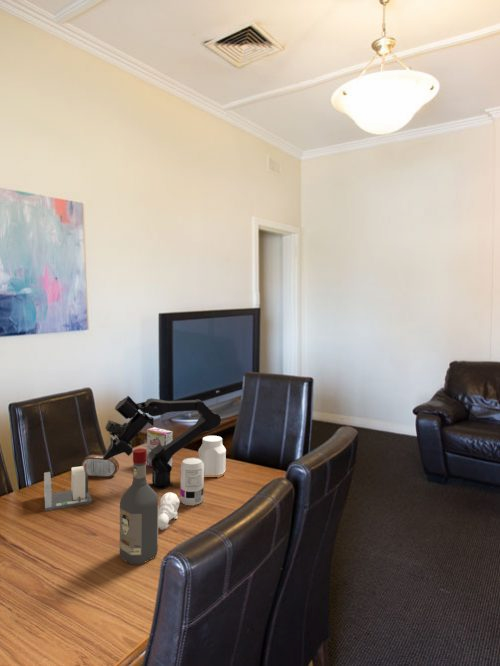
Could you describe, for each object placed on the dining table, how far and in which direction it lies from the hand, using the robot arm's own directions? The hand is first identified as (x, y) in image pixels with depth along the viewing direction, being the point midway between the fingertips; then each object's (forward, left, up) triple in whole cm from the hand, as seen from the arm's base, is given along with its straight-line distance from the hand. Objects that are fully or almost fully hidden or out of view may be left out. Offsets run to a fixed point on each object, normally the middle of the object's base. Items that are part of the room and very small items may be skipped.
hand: (103, 459), depth 164 cm
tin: (+15, -11, -14) cm, 23 cm away
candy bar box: (+2, -32, -14) cm, 35 cm away
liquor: (-40, +22, -13) cm, 47 cm away
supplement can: (-31, -13, -13) cm, 36 cm away
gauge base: (+7, +10, -13) cm, 18 cm away
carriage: (+4, +8, -12) cm, 15 cm away
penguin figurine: (-34, +4, -14) cm, 37 cm away
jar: (-21, -39, -14) cm, 46 cm away
